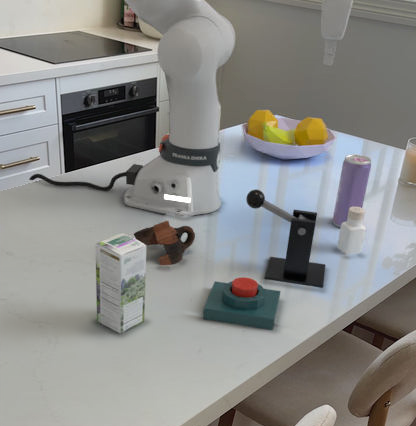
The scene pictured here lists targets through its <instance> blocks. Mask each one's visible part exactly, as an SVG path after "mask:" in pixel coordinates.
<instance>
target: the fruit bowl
mask: <svg viewBox="0 0 416 426" xmlns="http://www.w3.org/2000/svg"><path fill="white" fill-rule="evenodd" d="M241 128H242V133H243V137H244V141H245V142H246V143H247V144H248V145H250V146H251V147H252V148H253V149H255V150H256V151H258V152H260V153H263V154H265V155H269V156H271V157H274V158H276V159H279V160H294V159H295V160H296V159H309V158H311V157H316V156H319V155H321V154H325V153H327V152H328V151H329V149H330V148H331V146H332V145H333V144H334V142H336V140H337V136H336V135H335V134H334V132H333V130H331V128H328V127H327V125H326V124H325V122H324V121H323V119H322V118H318V117H311V116H306V117H305V118H304V119H302V120H299V119H291V118H286V117H285V118H284V117H276V116H275V115H274V113H272V111H270V109H257V110H255V111H254V112H253V113H252V114H251V116H250V117H249V119H248V120H247V122H246V123H243V124H241Z"/></svg>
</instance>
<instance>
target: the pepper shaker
mask: <svg viewBox="0 0 416 426" xmlns="http://www.w3.org/2000/svg"><path fill="white" fill-rule="evenodd" d="M365 214H366V210H365V208H363V207H362V208H361V207H350V208H349V212H348V219H347V221H346V222H343V223H342V224H341V228H340V229H339V235H338V240H337V244H336V249H338V250H339V251H341V252H342V253H343V254H344V255H357V254H361V253H362V251H363V245H364V241H365V237H366V232H367V227H366V226H365V225H364V224H363V222H364V219H365V218H364V217H365Z"/></svg>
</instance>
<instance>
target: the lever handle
mask: <svg viewBox="0 0 416 426" xmlns="http://www.w3.org/2000/svg"><path fill="white" fill-rule="evenodd" d="M246 204H247V206H248V207H249V208H251V209H254V210H257V209H260V208H263V209H265V210H267V211H269V212H271V213H273V214H274V215H276V216H278V217H280V218H281V219H284V220H285V221H287V222H289V223H291V219H292V218H296V217H295V216H293V214H291V213H289V212H287V211H286V210H284V209H283V208H280V207H279V206H277V205H275V204H273V203H271V202H269V201H268V200H266V197H265V194H264V192H263V191H261V190H260V189H252V190H250V191H249V192H248V193H247V195H246ZM298 219H305V220H310V219H308V218H306V217H304V216H303V215H301V214H300V215H299V217H298Z"/></svg>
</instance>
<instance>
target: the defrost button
mask: <svg viewBox="0 0 416 426" xmlns="http://www.w3.org/2000/svg"><path fill="white" fill-rule="evenodd" d="M232 281H233V282H232V290H231V291H232V294H234V295H236V296H238V297H244V298H248V297H254V296H256V294H257V288H258V284H259V283H258V281H256V280H255V279H253V278H250V277H243V276H242V277H237V278H234V279H233V280H232Z"/></svg>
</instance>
